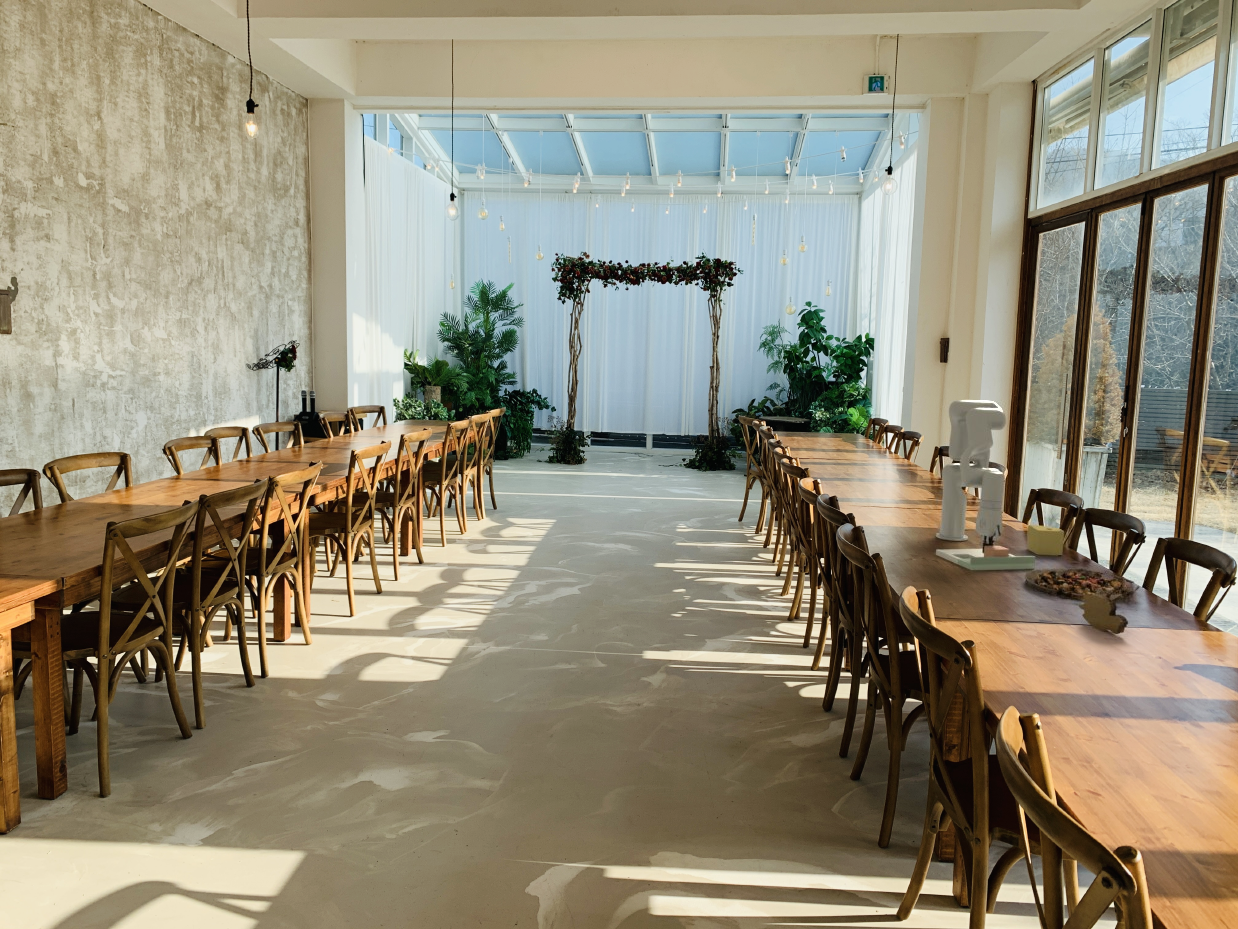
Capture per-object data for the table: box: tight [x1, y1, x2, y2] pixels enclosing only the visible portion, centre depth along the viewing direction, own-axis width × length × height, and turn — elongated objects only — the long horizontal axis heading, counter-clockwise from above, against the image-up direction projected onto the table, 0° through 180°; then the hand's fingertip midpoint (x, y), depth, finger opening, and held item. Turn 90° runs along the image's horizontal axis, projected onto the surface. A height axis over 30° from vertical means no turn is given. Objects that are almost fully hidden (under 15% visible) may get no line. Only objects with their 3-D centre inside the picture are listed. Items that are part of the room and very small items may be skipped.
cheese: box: [1026, 524, 1065, 556], centre depth 346 cm, size 10×11×10 cm
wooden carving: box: [1078, 594, 1129, 635], centre depth 249 cm, size 16×5×10 cm, turn 17°
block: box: [984, 545, 1010, 557], centre depth 321 cm, size 6×6×5 cm
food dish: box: [1024, 567, 1140, 605], centre depth 291 cm, size 35×33×8 cm
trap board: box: [935, 548, 1036, 571], centre depth 329 cm, size 24×25×4 cm
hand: (987, 553), depth 327 cm, fingers closed
